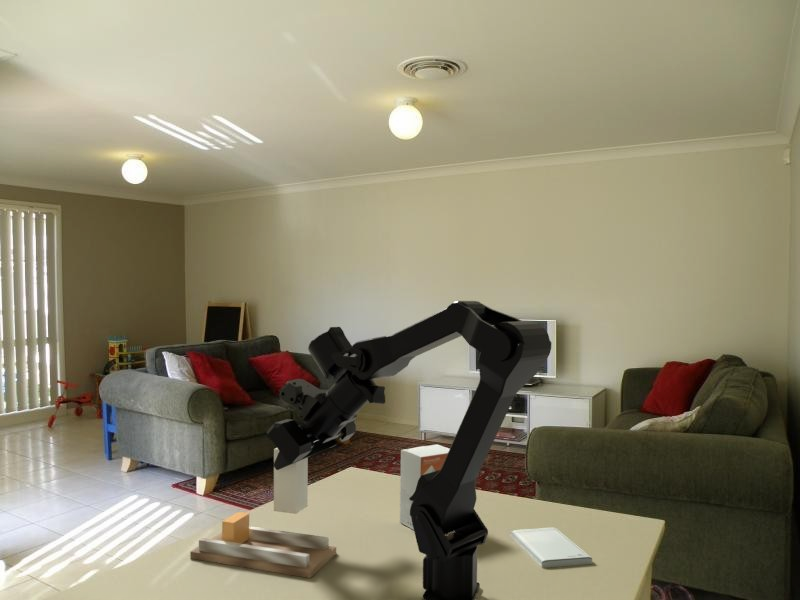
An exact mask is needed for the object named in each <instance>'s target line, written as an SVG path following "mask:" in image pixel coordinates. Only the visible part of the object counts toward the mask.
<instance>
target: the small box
mask: <svg viewBox="0 0 800 600" xmlns="http://www.w3.org/2000/svg"><path fill="white" fill-rule="evenodd" d="M449 450H450V447H446V446H443V445H440V444H437V443H436V444H431V445H423V446H416V447H412V448H406V449H401V450H400V479H399V480H400V482H399V483H400V491H399V498H400V499H399V502H400V503H399V523H401V524H402V525H404V526H406V527H408V528H409V529H411V530H413V531H414V528H413V524H412V519H411V516H410V507H411V504H412V502H413V501H411V500H410V499H409V498H410V497H411V496H412V495H413V494H414V492H415V490H416V487H417V483H418V480H419V478H420V477H421V475H424V474H428V473H431V472H434V471H437V470H440V469H441V468H442V465H443V463H444V461H445V459H446V456H447V454H448V452H449Z"/></svg>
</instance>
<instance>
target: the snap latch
mask: <svg viewBox="0 0 800 600" xmlns="http://www.w3.org/2000/svg"><path fill="white" fill-rule="evenodd" d="M221 522H222V523H221V528H222V529H221V533H222V541H227V542H234V543H240V544H242V543H243V542H245V541H246V540H248V539H249V526H250V513H248V512H242V511H237V512H236V513H234V514H232V515H231V516H229V517H227V518H225V519H223V520H222V521H221Z"/></svg>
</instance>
